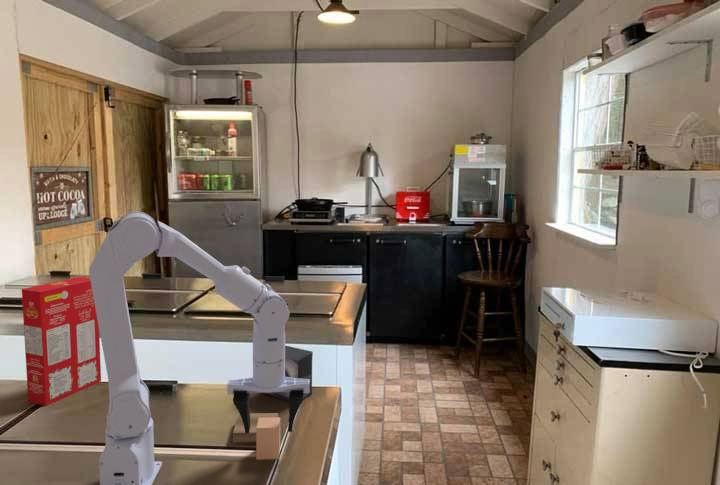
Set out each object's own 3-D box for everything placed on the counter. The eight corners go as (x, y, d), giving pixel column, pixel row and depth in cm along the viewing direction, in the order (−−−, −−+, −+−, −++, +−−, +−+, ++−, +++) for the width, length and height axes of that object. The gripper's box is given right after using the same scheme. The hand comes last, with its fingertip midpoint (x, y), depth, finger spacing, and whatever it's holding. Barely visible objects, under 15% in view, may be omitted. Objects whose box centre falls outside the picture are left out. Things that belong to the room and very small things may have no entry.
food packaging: (84, 377, 129) (80, 276, 126) (101, 381, 128) (97, 278, 124) (28, 401, 116) (21, 289, 112) (46, 405, 114) (39, 291, 111)
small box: (259, 394, 123) (259, 350, 121) (276, 384, 129) (276, 342, 127) (297, 404, 118) (297, 359, 117) (313, 394, 124) (313, 350, 122)
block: (278, 459, 96) (279, 427, 95) (256, 459, 95) (256, 428, 95) (280, 447, 100) (280, 417, 99) (258, 448, 99) (258, 417, 98)
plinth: (275, 442, 102) (275, 432, 101) (232, 442, 101) (232, 432, 101) (278, 422, 109) (278, 413, 109) (238, 422, 109) (238, 413, 108)
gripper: (309, 350, 100) (309, 418, 102) (231, 350, 98) (231, 420, 100) (309, 363, 93) (308, 437, 95) (224, 364, 91) (225, 439, 93)
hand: (269, 429), depth 97 cm, fingers open, 7 cm apart
